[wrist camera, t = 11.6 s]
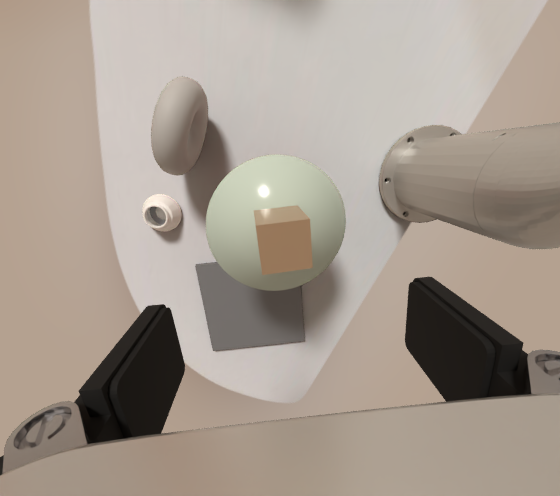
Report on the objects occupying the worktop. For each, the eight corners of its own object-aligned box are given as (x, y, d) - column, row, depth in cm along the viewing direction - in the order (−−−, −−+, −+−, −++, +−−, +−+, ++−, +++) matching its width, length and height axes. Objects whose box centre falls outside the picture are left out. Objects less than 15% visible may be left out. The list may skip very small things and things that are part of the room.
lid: (341, 147, 24) (370, 147, 18) (342, 276, 29) (366, 307, 23) (193, 162, 23) (177, 167, 17) (220, 294, 28) (214, 331, 22)
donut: (189, 85, 32) (156, 54, 23) (217, 96, 33) (197, 70, 23) (172, 168, 35) (137, 171, 25) (198, 176, 35) (173, 183, 26)
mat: (298, 253, 39) (298, 255, 39) (304, 338, 44) (304, 341, 44) (196, 264, 39) (195, 265, 39) (213, 348, 44) (213, 350, 43)
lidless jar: (168, 187, 36) (137, 204, 36) (160, 189, 33) (126, 208, 34) (189, 219, 37) (159, 236, 38) (183, 224, 34) (150, 242, 35)
